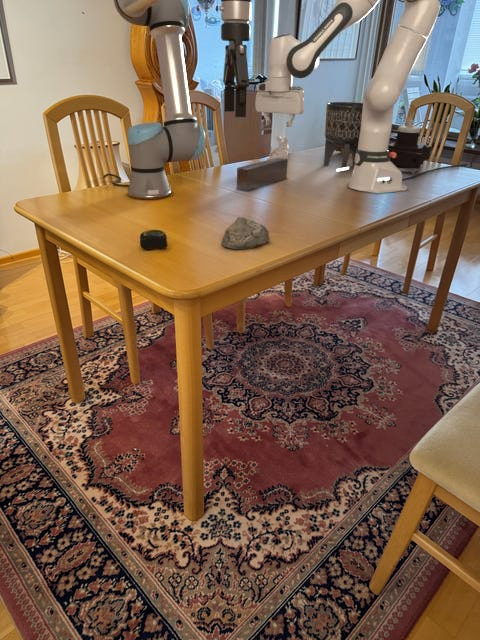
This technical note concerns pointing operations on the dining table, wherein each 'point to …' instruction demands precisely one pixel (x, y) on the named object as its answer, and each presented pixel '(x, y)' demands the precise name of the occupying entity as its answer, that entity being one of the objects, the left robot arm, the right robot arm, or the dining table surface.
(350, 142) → the planter
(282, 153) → the figurine
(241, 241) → the rock
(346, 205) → the dining table surface
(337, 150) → the toy
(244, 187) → the bar
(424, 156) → the mechanical component
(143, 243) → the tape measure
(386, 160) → the right robot arm
